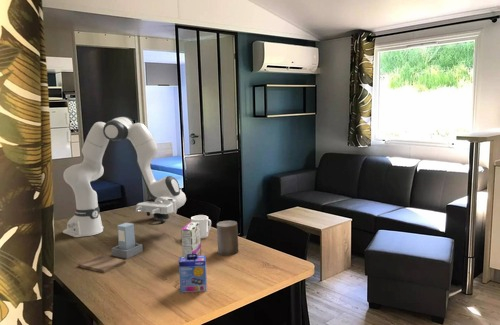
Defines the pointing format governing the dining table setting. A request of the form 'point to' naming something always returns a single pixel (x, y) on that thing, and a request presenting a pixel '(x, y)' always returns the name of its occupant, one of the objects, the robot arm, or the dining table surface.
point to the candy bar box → (191, 239)
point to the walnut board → (102, 263)
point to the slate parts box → (126, 236)
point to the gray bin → (127, 251)
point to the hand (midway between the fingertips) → (143, 211)
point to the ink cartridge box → (192, 273)
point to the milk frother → (157, 216)
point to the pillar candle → (227, 237)
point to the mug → (202, 224)
